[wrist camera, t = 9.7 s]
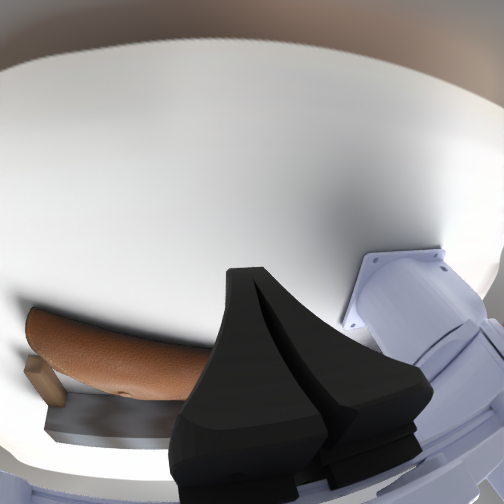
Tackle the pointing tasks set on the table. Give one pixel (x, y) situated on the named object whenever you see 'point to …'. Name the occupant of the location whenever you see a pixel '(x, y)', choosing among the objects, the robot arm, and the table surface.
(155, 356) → the sunglasses case
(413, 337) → the robot arm
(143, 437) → the dock
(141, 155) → the table surface
